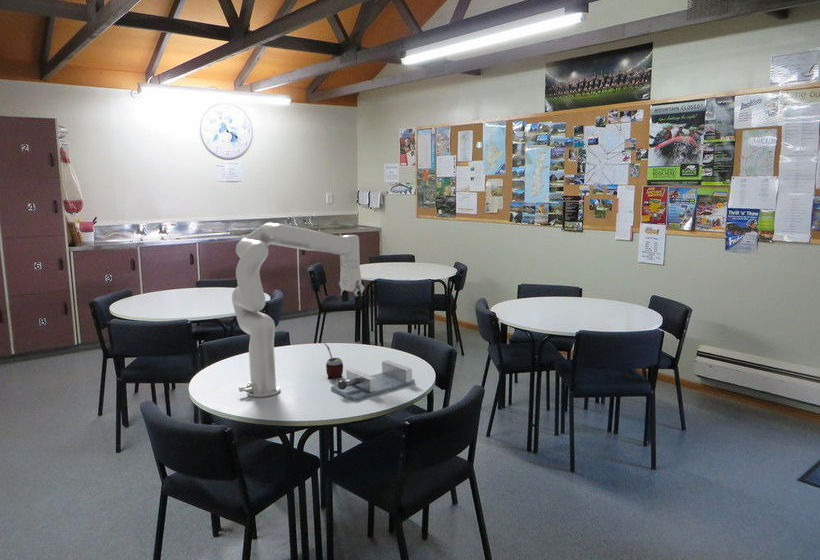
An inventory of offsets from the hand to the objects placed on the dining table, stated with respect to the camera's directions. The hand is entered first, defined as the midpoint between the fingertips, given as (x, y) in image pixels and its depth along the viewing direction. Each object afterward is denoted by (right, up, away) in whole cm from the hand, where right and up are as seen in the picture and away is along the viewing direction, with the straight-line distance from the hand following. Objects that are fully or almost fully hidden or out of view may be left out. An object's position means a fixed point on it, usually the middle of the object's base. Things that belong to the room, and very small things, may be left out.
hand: (351, 303), depth 249 cm
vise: (+10, -33, -17) cm, 38 cm away
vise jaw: (+2, -32, -24) cm, 40 cm away
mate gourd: (-7, -31, -5) cm, 33 cm away
